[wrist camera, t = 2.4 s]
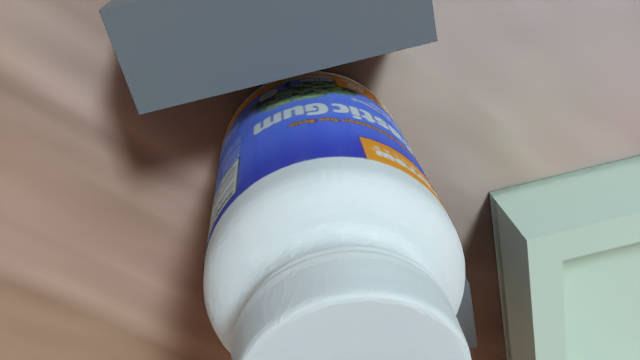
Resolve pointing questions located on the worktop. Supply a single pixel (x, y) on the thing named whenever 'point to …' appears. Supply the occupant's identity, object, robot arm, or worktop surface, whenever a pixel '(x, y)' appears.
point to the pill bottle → (329, 233)
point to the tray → (571, 264)
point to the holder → (256, 50)
